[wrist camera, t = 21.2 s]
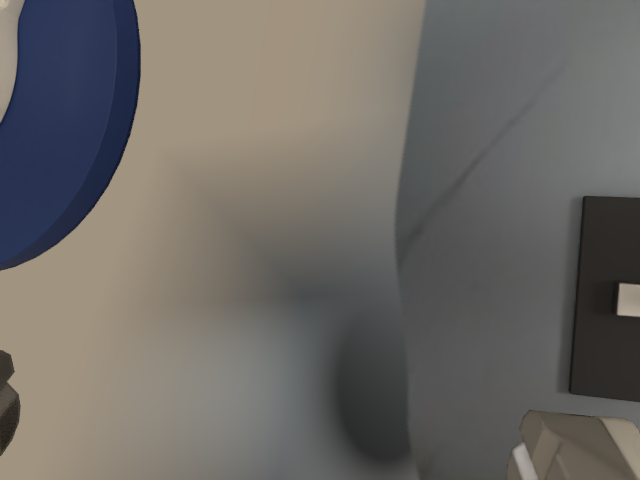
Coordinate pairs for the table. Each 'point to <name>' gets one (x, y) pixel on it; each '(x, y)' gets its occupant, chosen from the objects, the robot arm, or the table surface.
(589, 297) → the mat
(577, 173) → the table surface
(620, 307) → the fork
